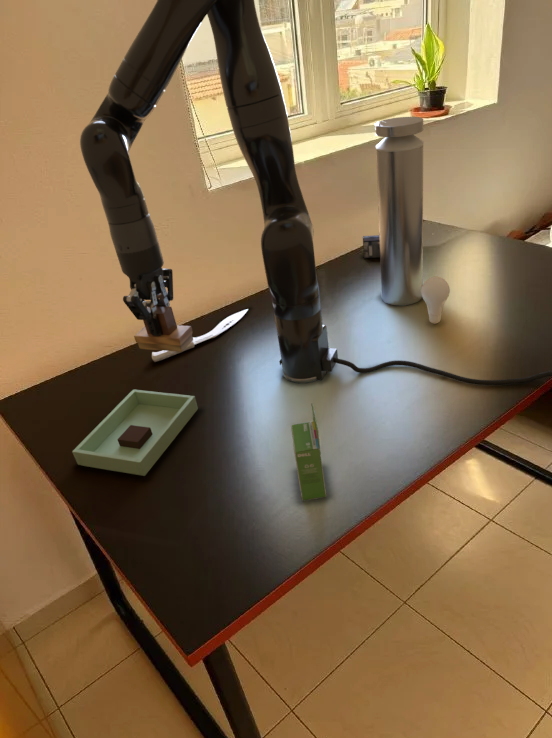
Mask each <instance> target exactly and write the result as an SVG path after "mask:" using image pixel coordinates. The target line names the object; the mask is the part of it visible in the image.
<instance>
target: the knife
mask: <svg viewBox="0 0 552 738" xmlns="http://www.w3.org/2000/svg"><path fill="white" fill-rule="evenodd" d="M248 311H249V308H247V309H243V310H241V311H240V310H239V311H238V312H235V313H233V314H231V315H229V316H227V317H226V318H224V319H222V321H219V323H218V324H217V325H216V326H215V327H214V328H213V329H212V330H210V331H209V332H207V333H205V334H203V335H199V336H196V337H194V336H192V337H193V341H192V342H191V343H190V344H189V345H188V346H187V347H186V348H185V349H184V350H183V351H182V352H178V351H164V350H158V351H152V352H151V359H152V361H153V362H154V363H156V362H160V361H163V360H165V359H168V358H170V357H173V356H175V355H177V354H181V353H183V352H185V351H188V350H191V349H194V348H195V345H197V344H200V343H202V342H206V341H207V340H210V339H214V338H216V337H218V336H219V335H220V334H222V333H223V332H225V331H227V330H228V329H229V328H230V327H232V326H234V325H235V324H236V323H237V322H239V321H240V320H241V319H242V318H243V317H244V316H245V314H247V312H248Z"/></svg>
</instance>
